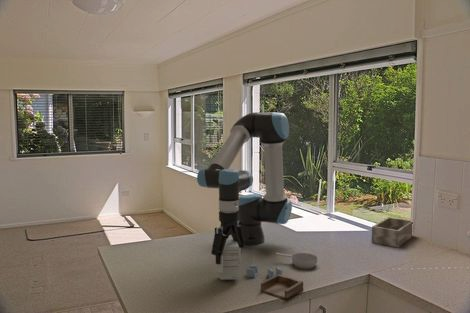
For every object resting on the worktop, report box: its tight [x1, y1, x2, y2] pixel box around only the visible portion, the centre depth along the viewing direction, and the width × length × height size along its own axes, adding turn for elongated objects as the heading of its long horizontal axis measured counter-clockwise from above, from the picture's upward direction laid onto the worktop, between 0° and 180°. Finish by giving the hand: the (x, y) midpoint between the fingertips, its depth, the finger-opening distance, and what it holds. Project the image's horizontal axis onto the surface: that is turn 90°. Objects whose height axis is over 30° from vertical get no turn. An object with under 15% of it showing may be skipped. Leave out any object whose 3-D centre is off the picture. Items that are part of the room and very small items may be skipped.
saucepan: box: [275, 252, 319, 270], centre depth 177 cm, size 11×18×4 cm, turn 71°
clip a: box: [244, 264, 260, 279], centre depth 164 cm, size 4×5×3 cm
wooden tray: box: [260, 274, 304, 301], centre depth 149 cm, size 11×11×3 cm
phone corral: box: [371, 216, 413, 248], centre depth 214 cm, size 13×25×8 cm, turn 141°
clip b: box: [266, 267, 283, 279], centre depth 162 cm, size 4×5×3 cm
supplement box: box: [218, 240, 240, 280], centre depth 158 cm, size 7×7×13 cm
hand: (228, 267), depth 159 cm, fingers closed on supplement box, 10 cm apart
